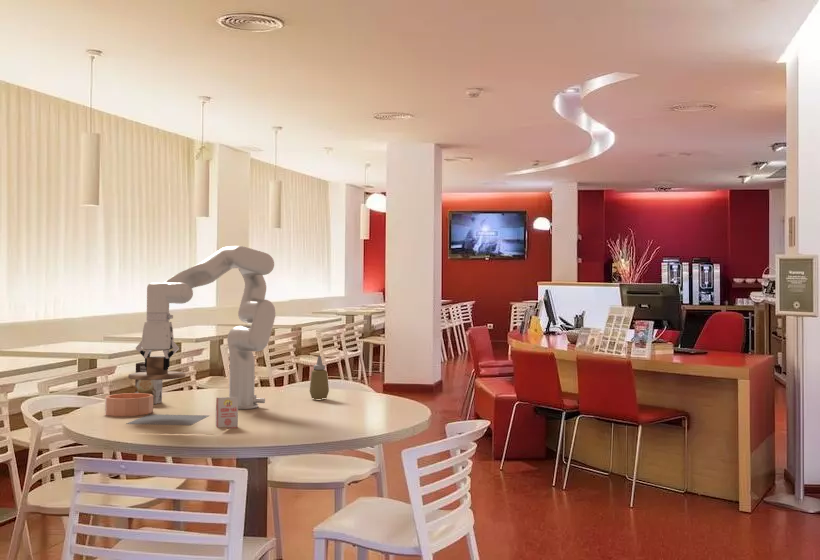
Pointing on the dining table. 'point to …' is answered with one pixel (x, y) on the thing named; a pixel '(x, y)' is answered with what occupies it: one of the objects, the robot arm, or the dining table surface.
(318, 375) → the squeeze bottle
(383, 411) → the dining table surface
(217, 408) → the red and white carton
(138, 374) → the lid
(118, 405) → the bowl
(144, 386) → the coffee box
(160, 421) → the mat
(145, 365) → the robot arm
